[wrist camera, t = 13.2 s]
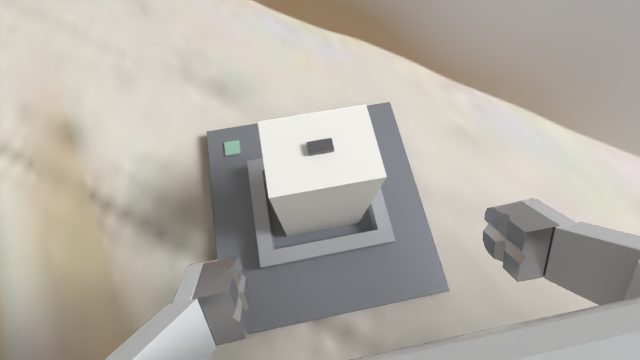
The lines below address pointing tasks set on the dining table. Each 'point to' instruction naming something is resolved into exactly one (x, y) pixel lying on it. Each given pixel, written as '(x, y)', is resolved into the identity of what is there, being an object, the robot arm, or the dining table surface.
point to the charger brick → (321, 168)
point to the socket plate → (321, 237)
